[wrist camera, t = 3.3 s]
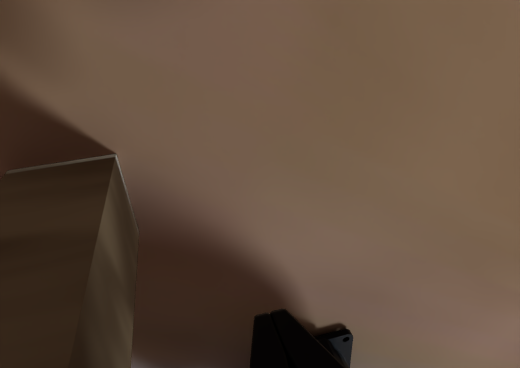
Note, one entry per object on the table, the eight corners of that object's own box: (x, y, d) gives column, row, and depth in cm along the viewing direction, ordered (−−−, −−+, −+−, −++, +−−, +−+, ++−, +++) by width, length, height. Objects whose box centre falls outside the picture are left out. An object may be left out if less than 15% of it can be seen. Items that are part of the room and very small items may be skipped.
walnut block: (139, 232, 16) (124, 470, 8) (45, 250, 16) (-68, 529, 8) (116, 153, 14) (67, 369, 6) (7, 170, 14) (-199, 437, 6)
